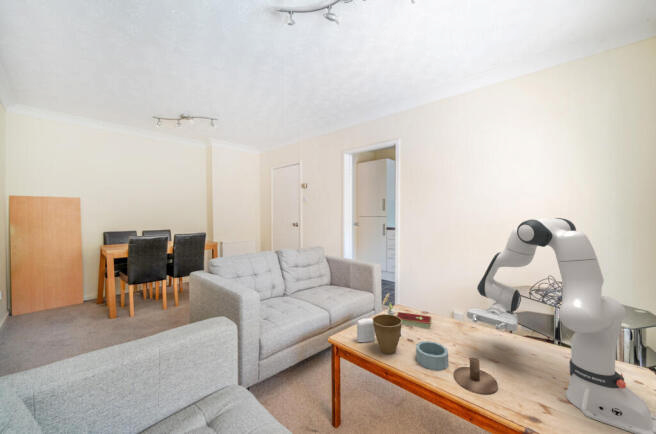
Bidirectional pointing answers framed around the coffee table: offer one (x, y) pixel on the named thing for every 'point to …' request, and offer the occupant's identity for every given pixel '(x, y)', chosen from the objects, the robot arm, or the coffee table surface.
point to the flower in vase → (390, 311)
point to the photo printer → (365, 330)
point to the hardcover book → (415, 320)
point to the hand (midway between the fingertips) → (485, 324)
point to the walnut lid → (475, 379)
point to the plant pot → (387, 332)
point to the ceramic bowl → (432, 355)
